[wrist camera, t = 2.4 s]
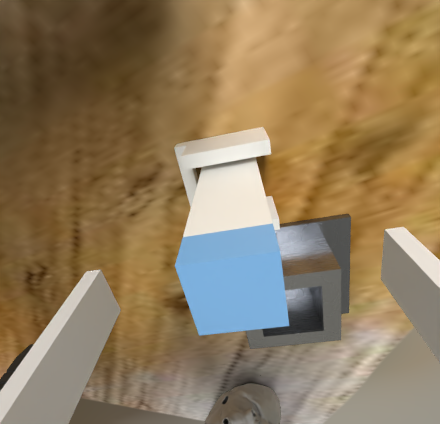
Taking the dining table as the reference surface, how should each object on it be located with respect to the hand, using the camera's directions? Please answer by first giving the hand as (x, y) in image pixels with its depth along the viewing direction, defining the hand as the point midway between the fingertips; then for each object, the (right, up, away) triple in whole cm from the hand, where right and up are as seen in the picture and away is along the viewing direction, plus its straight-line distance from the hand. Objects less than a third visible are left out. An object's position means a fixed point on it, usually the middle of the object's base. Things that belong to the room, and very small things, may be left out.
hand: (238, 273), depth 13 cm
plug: (0, +6, +11) cm, 12 cm away
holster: (0, +6, +10) cm, 12 cm away
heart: (+2, -20, +24) cm, 32 cm away
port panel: (+5, -4, +15) cm, 17 cm away
